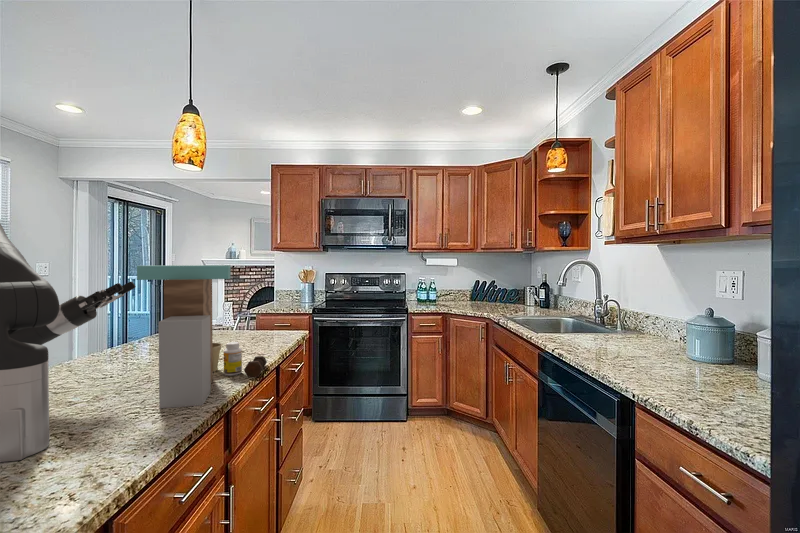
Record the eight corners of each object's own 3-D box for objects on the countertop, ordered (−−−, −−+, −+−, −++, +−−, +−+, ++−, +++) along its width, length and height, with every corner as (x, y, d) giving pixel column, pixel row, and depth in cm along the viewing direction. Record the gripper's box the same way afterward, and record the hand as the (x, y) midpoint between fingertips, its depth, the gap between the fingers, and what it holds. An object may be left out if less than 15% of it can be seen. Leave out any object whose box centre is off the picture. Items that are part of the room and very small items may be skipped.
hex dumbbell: (263, 370, 144) (255, 381, 129) (250, 364, 143) (241, 374, 129) (272, 356, 145) (264, 365, 130) (259, 349, 144) (250, 358, 129)
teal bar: (228, 279, 119) (228, 265, 119) (137, 279, 114) (136, 265, 114) (230, 278, 123) (230, 265, 123) (142, 279, 118) (142, 265, 117)
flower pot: (192, 368, 139) (192, 344, 139) (222, 365, 143) (222, 341, 143) (191, 376, 131) (190, 349, 131) (222, 372, 135) (222, 346, 134)
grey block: (202, 405, 104) (201, 320, 104) (159, 408, 102) (158, 321, 102) (210, 392, 114) (210, 315, 114) (171, 395, 112) (170, 316, 111)
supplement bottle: (224, 372, 135) (224, 341, 135) (242, 370, 137) (242, 340, 137) (222, 376, 130) (222, 345, 130) (241, 375, 131) (241, 344, 131)
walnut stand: (203, 392, 115) (203, 279, 114) (164, 394, 112) (163, 280, 112) (212, 379, 126) (212, 278, 126) (177, 382, 124) (176, 278, 123)
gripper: (46, 306, 104) (108, 274, 107) (76, 301, 118) (130, 273, 121) (64, 330, 105) (124, 298, 108) (91, 322, 119) (144, 294, 122)
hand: (127, 285), depth 115 cm, fingers open, 8 cm apart
